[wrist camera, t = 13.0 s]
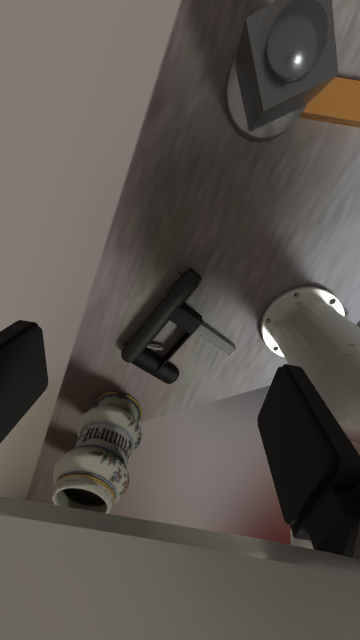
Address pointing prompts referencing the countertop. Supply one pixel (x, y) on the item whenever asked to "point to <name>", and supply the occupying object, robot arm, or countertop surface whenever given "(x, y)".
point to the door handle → (181, 316)
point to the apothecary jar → (99, 455)
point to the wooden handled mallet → (328, 106)
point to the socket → (285, 58)
